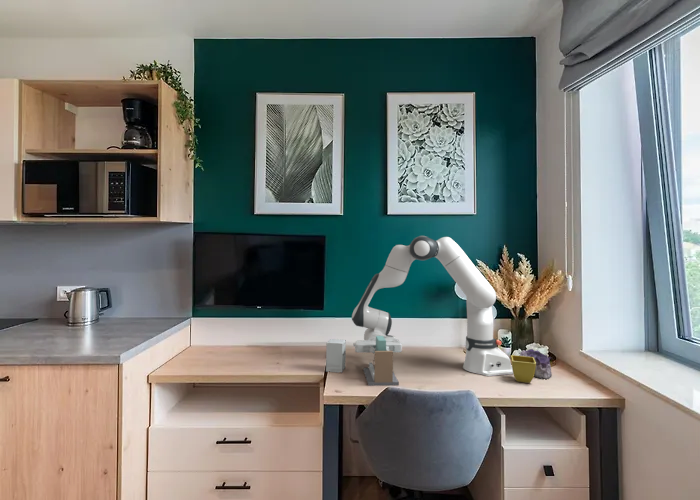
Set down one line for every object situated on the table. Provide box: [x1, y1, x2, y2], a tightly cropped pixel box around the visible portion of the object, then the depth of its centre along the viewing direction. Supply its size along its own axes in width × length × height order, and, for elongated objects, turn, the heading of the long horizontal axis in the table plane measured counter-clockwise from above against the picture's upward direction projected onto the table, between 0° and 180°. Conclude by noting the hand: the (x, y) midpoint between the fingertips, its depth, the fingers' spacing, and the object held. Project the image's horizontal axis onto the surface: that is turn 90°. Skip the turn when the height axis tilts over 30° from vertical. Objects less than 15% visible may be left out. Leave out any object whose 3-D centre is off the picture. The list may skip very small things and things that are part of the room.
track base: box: [363, 351, 400, 387], centre depth 161 cm, size 12×18×13 cm, turn 4°
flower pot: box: [510, 354, 536, 384], centre depth 159 cm, size 9×9×9 cm
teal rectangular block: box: [376, 336, 386, 351], centre depth 160 cm, size 3×8×14 cm, turn 4°
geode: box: [518, 348, 553, 380], centre depth 170 cm, size 20×12×10 cm, turn 176°
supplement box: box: [325, 338, 347, 373], centre depth 170 cm, size 7×7×13 cm
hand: (380, 351), depth 160 cm, fingers closed on teal rectangular block, 3 cm apart
